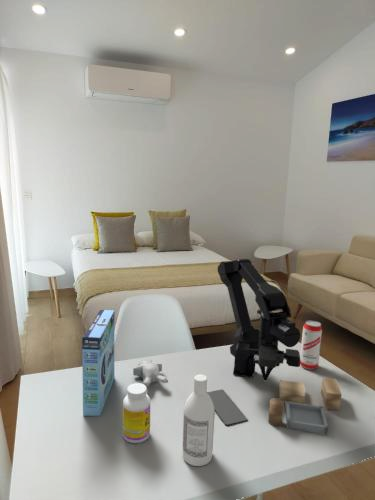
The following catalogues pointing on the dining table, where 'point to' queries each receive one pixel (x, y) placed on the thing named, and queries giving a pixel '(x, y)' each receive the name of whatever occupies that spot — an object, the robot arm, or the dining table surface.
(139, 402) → the supplement bottle
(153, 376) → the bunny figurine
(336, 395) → the block
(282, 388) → the tan beveled block
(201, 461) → the bath foam
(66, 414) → the dining table surface
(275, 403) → the dowel
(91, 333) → the light blue cardboard box
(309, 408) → the tray
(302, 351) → the beer can
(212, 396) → the smartphone
